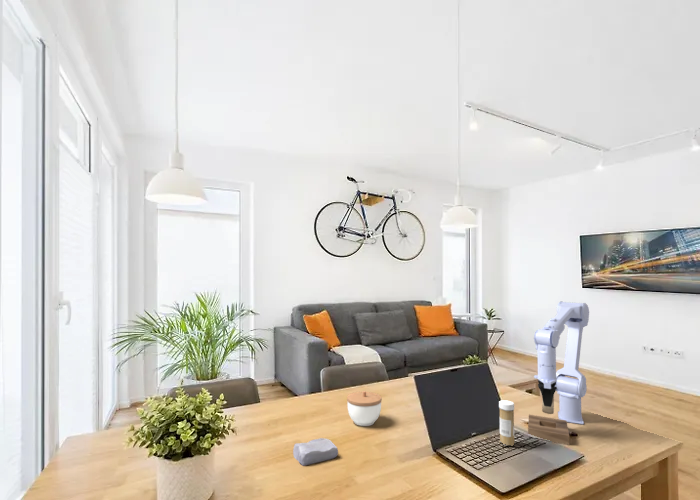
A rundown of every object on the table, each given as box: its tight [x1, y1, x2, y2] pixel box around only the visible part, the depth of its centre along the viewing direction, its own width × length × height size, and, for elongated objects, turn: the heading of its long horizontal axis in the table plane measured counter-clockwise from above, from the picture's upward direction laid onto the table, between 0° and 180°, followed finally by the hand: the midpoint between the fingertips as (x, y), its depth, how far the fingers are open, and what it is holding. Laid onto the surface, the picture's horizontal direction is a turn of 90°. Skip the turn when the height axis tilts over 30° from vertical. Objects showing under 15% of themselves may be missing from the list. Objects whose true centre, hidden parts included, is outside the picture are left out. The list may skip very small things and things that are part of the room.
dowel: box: [541, 394, 555, 415], centre depth 131 cm, size 4×4×8 cm
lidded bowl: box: [346, 390, 382, 427], centre depth 139 cm, size 13×13×11 cm
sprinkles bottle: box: [498, 399, 515, 446], centre depth 122 cm, size 5×5×13 cm
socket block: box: [527, 413, 570, 446], centre depth 131 cm, size 14×12×3 cm
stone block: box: [292, 437, 339, 467], centre depth 114 cm, size 12×5×10 cm
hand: (547, 404), depth 131 cm, fingers closed on dowel, 3 cm apart
